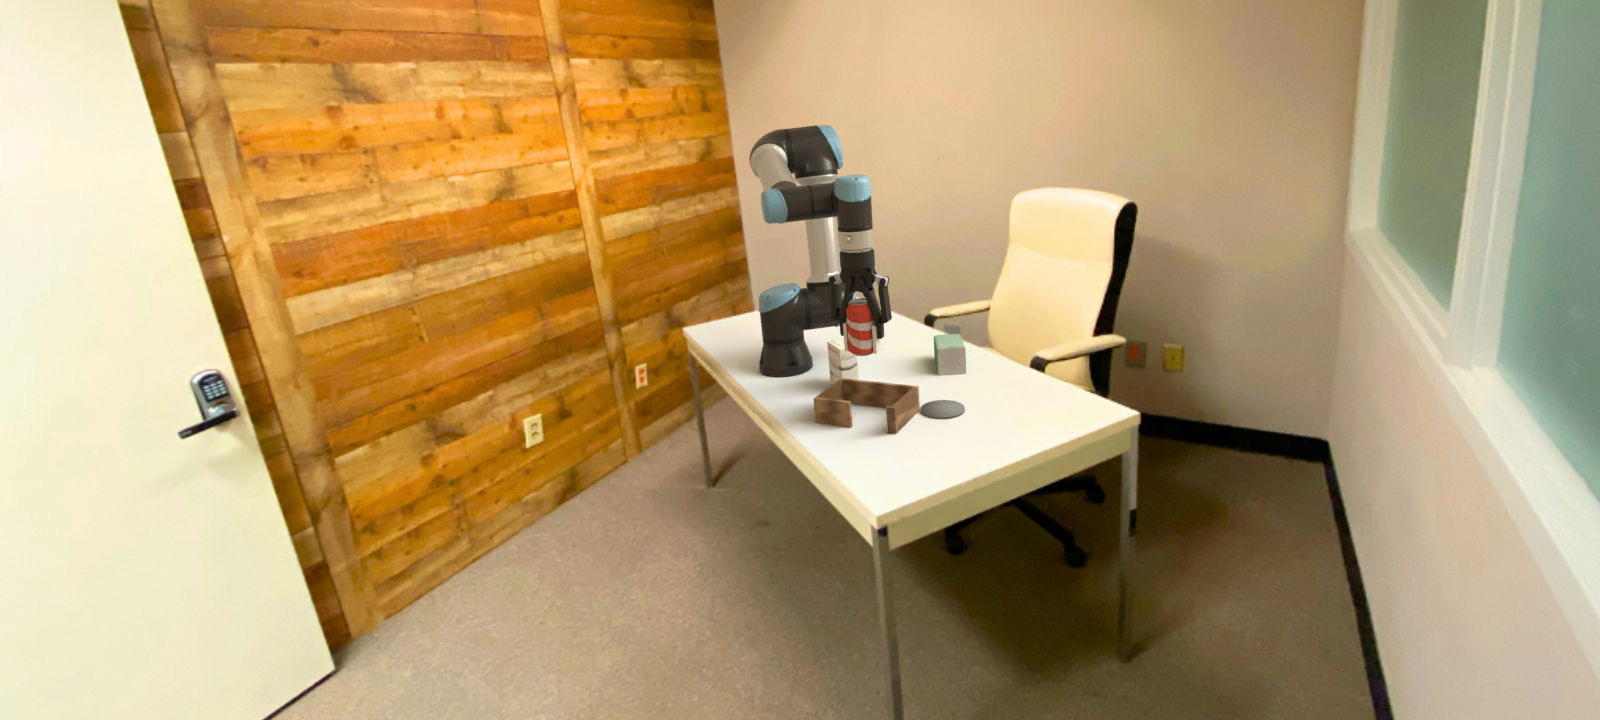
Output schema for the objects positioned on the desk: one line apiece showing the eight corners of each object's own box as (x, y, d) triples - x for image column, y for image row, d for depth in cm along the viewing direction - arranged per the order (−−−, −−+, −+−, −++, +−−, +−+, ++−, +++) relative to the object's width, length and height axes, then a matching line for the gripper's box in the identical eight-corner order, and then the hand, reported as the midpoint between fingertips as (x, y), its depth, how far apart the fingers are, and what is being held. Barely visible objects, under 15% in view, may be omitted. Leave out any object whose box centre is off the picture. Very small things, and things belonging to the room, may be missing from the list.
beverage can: (858, 359, 164) (854, 306, 160) (844, 351, 169) (841, 300, 165) (882, 353, 166) (879, 301, 162) (868, 346, 171) (865, 296, 167)
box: (961, 358, 206) (960, 332, 203) (966, 374, 193) (965, 347, 190) (934, 359, 206) (933, 334, 204) (938, 376, 194) (936, 349, 191)
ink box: (860, 390, 189) (857, 345, 185) (842, 394, 187) (838, 349, 184) (846, 380, 196) (843, 337, 193) (829, 384, 195) (825, 341, 191)
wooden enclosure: (815, 422, 171) (813, 398, 169) (842, 401, 183) (841, 378, 181) (896, 434, 161) (894, 408, 159) (919, 410, 173) (918, 386, 171)
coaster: (914, 415, 170) (914, 413, 170) (929, 400, 178) (929, 398, 178) (956, 421, 165) (956, 418, 165) (970, 404, 173) (970, 402, 173)
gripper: (808, 252, 162) (817, 352, 169) (891, 253, 152) (896, 359, 159) (825, 245, 168) (832, 342, 175) (905, 246, 158) (909, 349, 166)
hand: (863, 350), depth 167 cm, fingers closed on beverage can, 6 cm apart
